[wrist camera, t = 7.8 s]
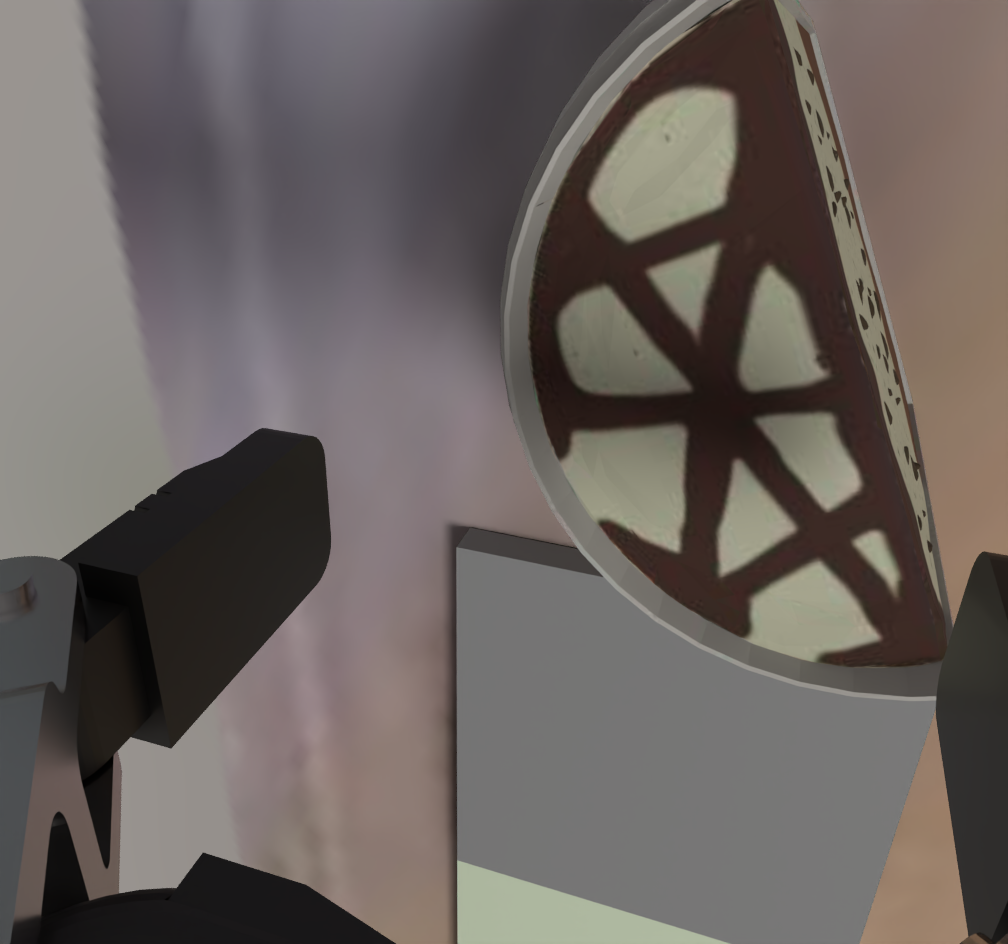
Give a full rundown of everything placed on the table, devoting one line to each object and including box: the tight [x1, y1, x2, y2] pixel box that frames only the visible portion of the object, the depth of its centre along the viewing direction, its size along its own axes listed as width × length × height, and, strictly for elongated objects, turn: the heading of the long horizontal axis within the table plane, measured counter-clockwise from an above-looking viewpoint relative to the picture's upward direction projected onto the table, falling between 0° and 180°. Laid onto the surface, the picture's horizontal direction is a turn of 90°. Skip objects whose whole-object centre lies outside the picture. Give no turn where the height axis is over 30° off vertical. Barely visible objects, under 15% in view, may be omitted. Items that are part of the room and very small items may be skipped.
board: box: [456, 528, 936, 944], centre depth 33 cm, size 14×28×1 cm, turn 179°
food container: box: [500, 0, 954, 701], centre depth 18 cm, size 12×6×10 cm, turn 23°
